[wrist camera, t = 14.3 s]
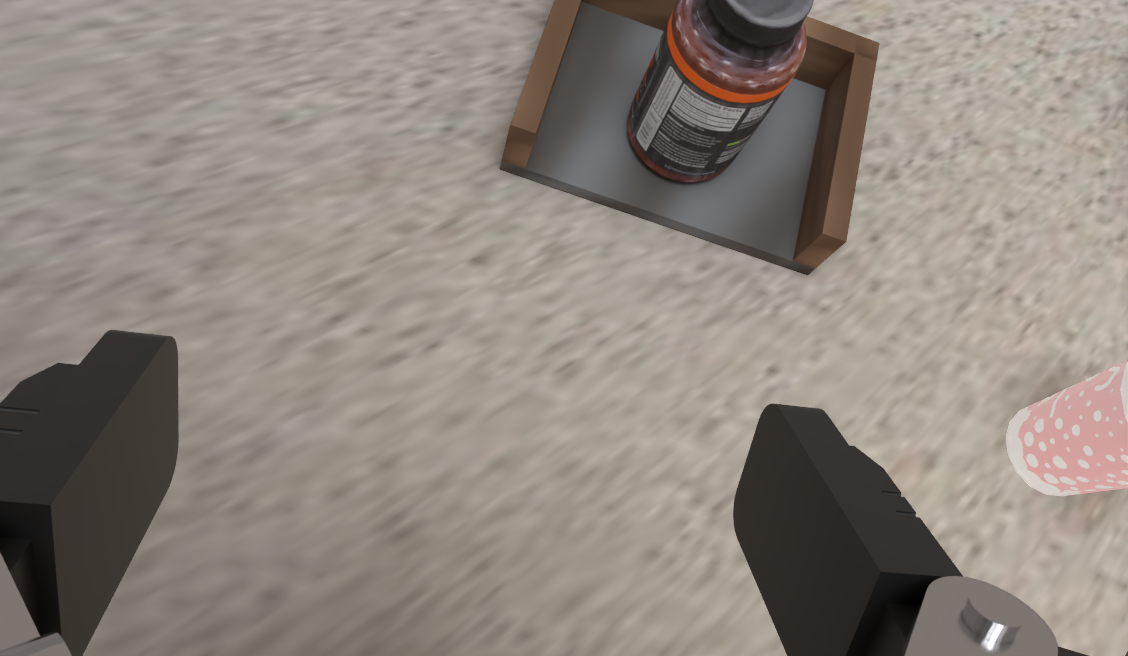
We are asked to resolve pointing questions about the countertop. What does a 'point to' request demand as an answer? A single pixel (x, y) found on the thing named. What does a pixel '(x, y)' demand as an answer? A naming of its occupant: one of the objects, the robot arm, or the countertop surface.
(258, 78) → the countertop surface
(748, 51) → the supplement bottle
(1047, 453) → the beverage cup
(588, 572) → the countertop surface
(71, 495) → the robot arm
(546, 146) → the frame
